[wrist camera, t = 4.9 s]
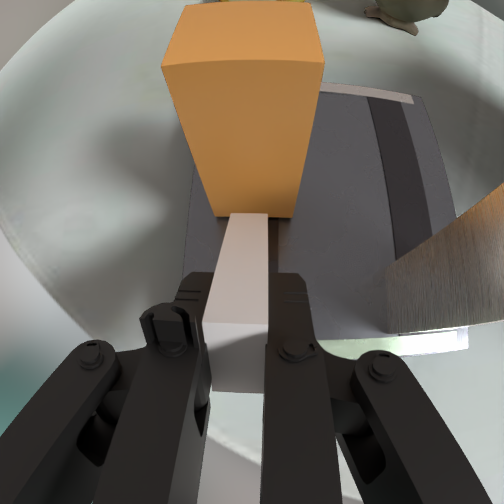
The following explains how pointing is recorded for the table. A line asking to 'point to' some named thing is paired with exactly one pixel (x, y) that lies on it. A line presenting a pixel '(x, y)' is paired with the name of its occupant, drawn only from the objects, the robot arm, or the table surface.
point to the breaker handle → (247, 99)
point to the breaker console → (376, 232)
